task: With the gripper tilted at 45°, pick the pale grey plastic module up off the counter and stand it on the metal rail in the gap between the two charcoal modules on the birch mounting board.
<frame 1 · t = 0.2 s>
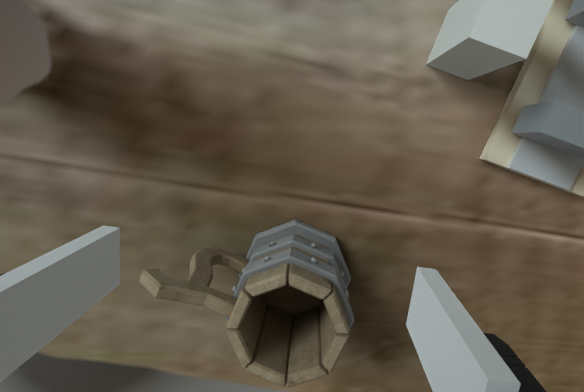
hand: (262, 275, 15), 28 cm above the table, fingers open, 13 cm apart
tankard: (268, 259, 45), on the table
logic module: (458, 45, 39), on the table
mounting board: (574, 83, 39), on the table
mounted modules: (574, 83, 39), resting on mounting board
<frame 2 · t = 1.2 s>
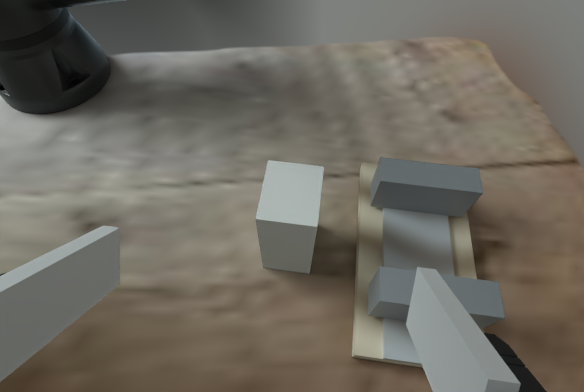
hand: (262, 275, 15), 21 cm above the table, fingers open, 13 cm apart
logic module: (290, 244, 39), on the table
mounting board: (411, 256, 39), on the table
mounted modules: (411, 256, 39), resting on mounting board
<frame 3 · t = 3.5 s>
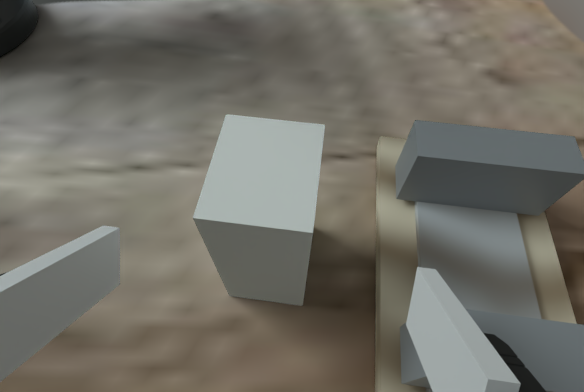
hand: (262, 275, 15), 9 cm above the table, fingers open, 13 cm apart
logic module: (272, 259, 25), on the table
mounting board: (461, 277, 25), on the table
mounted modules: (461, 277, 25), resting on mounting board
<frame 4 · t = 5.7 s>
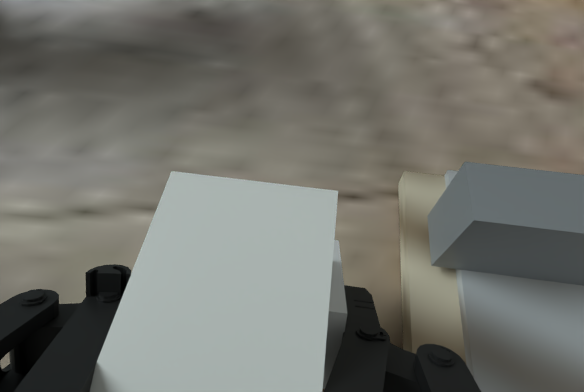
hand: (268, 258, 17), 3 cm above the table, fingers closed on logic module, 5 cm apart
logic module: (259, 350, 18), on the table, touching gripper
mounting board: (525, 379, 18), on the table
mounted modules: (525, 379, 18), resting on mounting board
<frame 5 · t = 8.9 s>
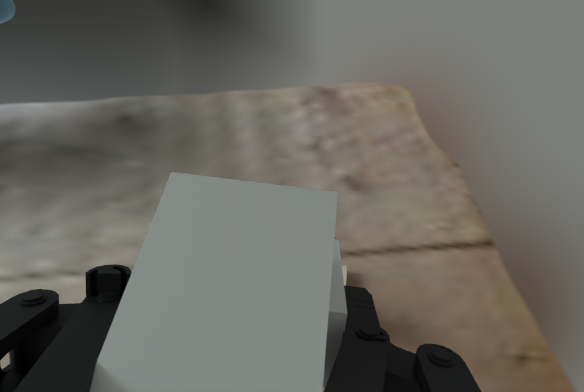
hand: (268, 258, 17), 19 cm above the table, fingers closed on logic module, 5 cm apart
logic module: (259, 351, 18), point 16 cm above the table, touching gripper
when the fingers open (7 cm above the table, at t = 12.0 s): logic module drops 1 cm, resting on mounting board.
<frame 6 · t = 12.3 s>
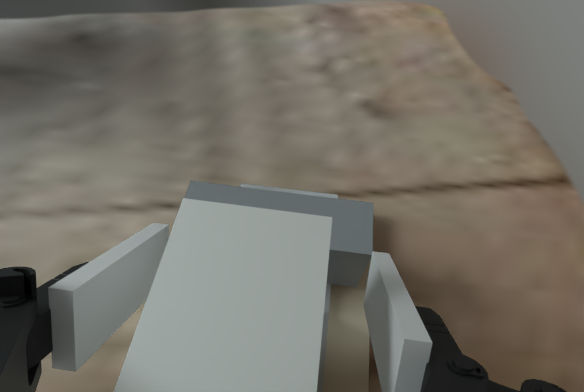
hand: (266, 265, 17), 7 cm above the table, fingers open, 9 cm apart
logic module: (260, 356, 19), point 2 cm above the table, touching mounting board
mounting board: (263, 360, 21), on the table
mounted modules: (263, 360, 21), resting on mounting board
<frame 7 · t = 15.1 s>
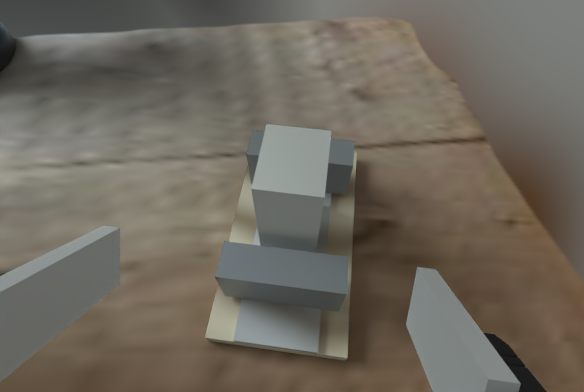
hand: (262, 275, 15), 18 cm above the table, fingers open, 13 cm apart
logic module: (292, 228, 35), point 2 cm above the table, touching mounting board
mounting board: (292, 236, 37), on the table
mounted modules: (292, 236, 37), resting on mounting board
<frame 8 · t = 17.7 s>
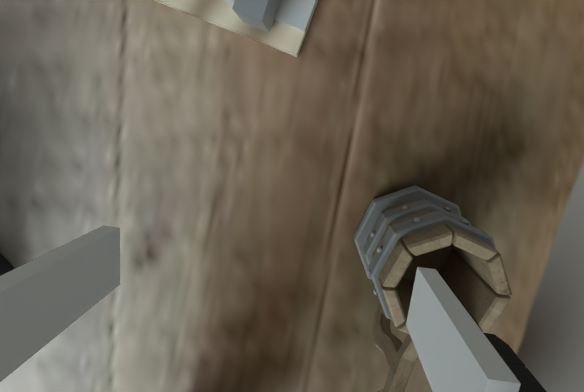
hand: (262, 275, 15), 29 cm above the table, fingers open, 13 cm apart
tankard: (394, 263, 45), on the table
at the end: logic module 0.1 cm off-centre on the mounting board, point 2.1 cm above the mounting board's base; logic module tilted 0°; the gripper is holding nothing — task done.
